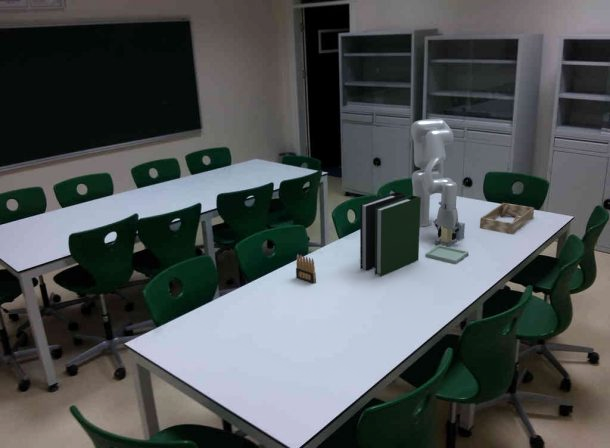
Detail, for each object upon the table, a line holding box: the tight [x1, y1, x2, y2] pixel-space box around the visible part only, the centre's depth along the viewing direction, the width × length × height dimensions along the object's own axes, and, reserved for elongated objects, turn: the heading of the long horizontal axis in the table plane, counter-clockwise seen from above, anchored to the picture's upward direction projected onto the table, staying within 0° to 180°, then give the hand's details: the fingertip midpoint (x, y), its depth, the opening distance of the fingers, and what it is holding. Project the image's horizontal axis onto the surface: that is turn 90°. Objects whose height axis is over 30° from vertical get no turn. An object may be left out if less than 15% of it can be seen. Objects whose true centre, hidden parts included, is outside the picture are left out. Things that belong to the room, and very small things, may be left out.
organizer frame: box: [479, 202, 535, 235], centre depth 306 cm, size 18×34×6 cm, turn 140°
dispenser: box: [434, 221, 466, 248], centre depth 282 cm, size 8×18×8 cm, turn 140°
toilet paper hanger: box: [499, 205, 519, 223], centre depth 309 cm, size 25×9×8 cm, turn 152°
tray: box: [424, 244, 469, 265], centre depth 264 cm, size 16×14×2 cm
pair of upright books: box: [359, 191, 421, 278], centre depth 253 cm, size 27×15×32 cm, turn 132°
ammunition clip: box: [295, 253, 317, 284], centre depth 242 cm, size 11×2×12 cm, turn 48°
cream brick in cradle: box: [440, 227, 453, 246], centre depth 280 cm, size 3×7×9 cm, turn 140°
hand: (446, 237), depth 280 cm, fingers open, 7 cm apart
